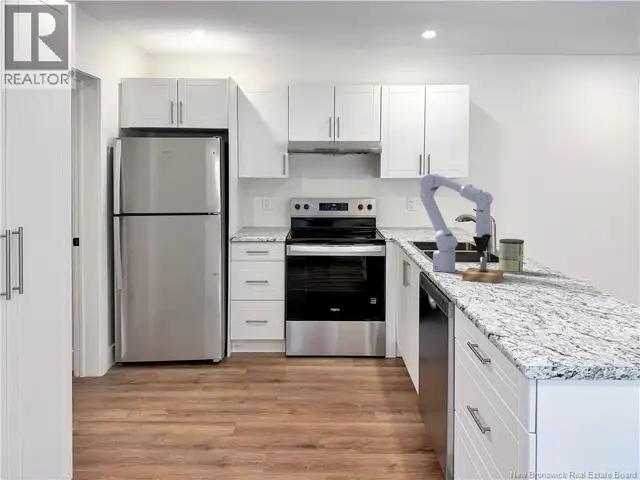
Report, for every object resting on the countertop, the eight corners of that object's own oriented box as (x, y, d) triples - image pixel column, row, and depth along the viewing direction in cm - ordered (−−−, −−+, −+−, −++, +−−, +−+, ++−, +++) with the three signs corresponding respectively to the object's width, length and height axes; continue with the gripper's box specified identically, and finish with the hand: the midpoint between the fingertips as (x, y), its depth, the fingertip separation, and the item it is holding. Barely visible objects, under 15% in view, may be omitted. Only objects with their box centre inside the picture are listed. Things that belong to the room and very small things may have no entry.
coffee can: (496, 269, 252) (497, 238, 250) (519, 270, 251) (520, 238, 249) (501, 273, 242) (502, 241, 240) (525, 273, 241) (526, 241, 239)
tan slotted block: (462, 280, 226) (462, 272, 225) (468, 274, 238) (469, 267, 238) (498, 282, 220) (498, 275, 219) (503, 277, 232) (503, 270, 232)
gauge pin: (479, 278, 229) (479, 257, 228) (481, 278, 231) (481, 256, 230) (484, 279, 227) (485, 257, 226) (486, 278, 229) (487, 256, 228)
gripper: (489, 222, 228) (488, 255, 230) (495, 219, 241) (494, 250, 243) (472, 221, 232) (470, 253, 233) (479, 219, 244) (477, 249, 246)
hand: (481, 252), depth 238 cm, fingers open, 7 cm apart
